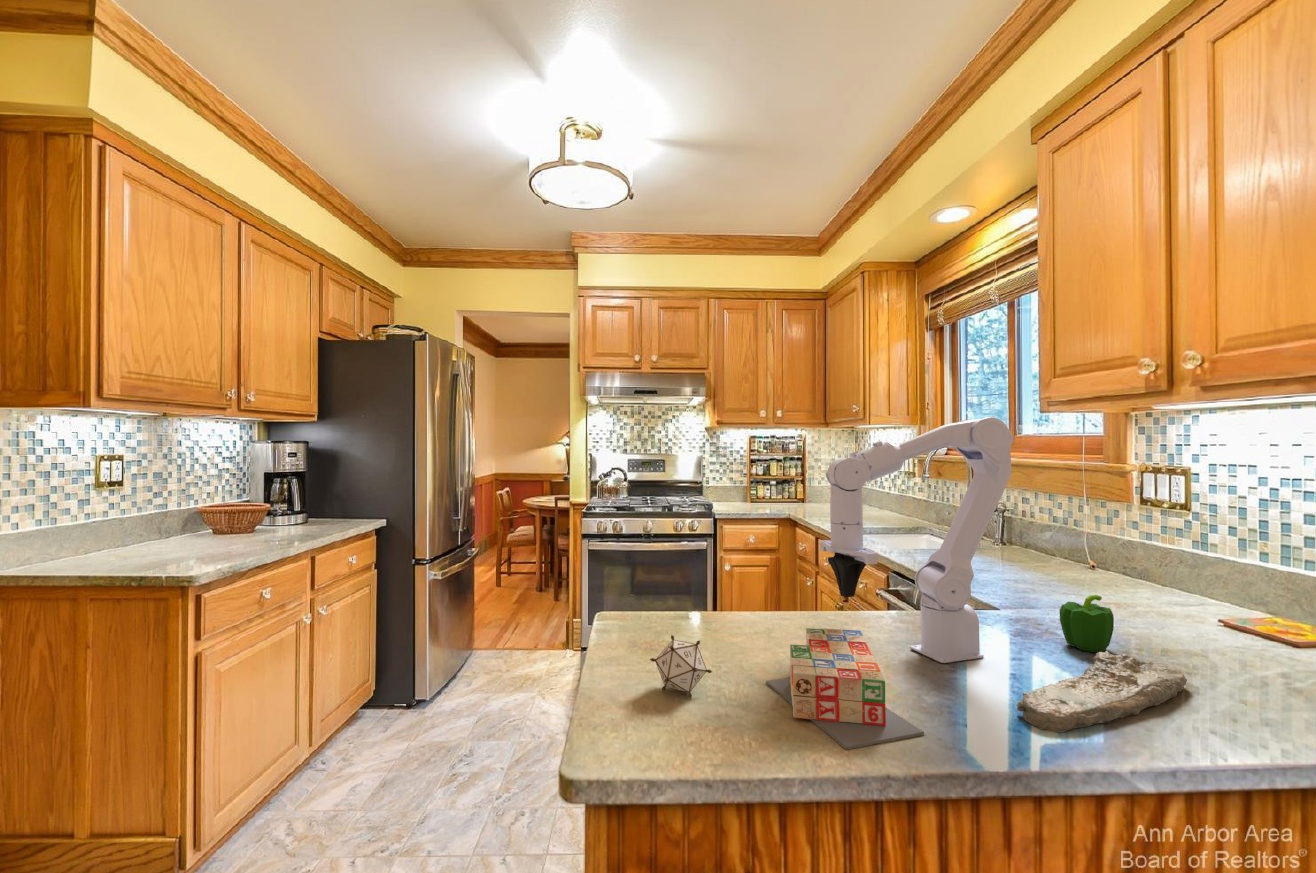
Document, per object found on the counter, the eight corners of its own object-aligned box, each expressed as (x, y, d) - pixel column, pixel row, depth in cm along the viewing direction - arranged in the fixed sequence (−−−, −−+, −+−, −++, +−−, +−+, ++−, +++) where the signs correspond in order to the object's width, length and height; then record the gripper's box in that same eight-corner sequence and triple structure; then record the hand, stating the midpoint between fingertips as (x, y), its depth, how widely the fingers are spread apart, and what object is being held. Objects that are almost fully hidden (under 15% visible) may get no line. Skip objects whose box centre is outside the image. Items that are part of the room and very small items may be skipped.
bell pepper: (1067, 653, 103) (1066, 598, 103) (1054, 638, 110) (1053, 588, 111) (1123, 659, 100) (1122, 602, 100) (1106, 644, 107) (1105, 591, 108)
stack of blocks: (862, 666, 96) (788, 661, 98) (861, 629, 96) (788, 625, 99) (886, 727, 75) (791, 718, 78) (885, 680, 75) (791, 672, 78)
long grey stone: (996, 721, 81) (1071, 759, 72) (996, 685, 80) (1071, 719, 71) (1129, 667, 95) (1206, 693, 86) (1129, 636, 95) (1206, 659, 86)
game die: (679, 721, 85) (658, 682, 80) (655, 682, 93) (634, 644, 88) (727, 686, 88) (709, 646, 83) (700, 650, 95) (682, 612, 90)
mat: (830, 673, 94) (830, 671, 94) (924, 734, 74) (924, 731, 74) (765, 683, 90) (765, 680, 90) (846, 749, 70) (846, 746, 70)
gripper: (806, 519, 110) (807, 588, 110) (852, 528, 96) (853, 608, 96) (837, 517, 112) (838, 585, 112) (886, 527, 98) (888, 604, 98)
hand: (847, 596), depth 104 cm, fingers closed
